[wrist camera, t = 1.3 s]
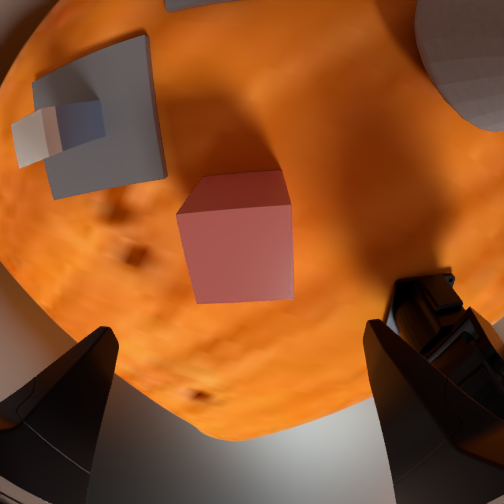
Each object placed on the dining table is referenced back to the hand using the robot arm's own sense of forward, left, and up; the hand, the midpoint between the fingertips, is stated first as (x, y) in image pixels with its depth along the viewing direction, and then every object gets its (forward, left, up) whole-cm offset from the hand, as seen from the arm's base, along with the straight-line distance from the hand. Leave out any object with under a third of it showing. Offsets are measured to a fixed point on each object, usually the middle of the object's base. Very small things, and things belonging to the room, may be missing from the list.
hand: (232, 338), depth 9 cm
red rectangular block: (0, 0, -12) cm, 12 cm away
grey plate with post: (+8, +10, -12) cm, 18 cm away
